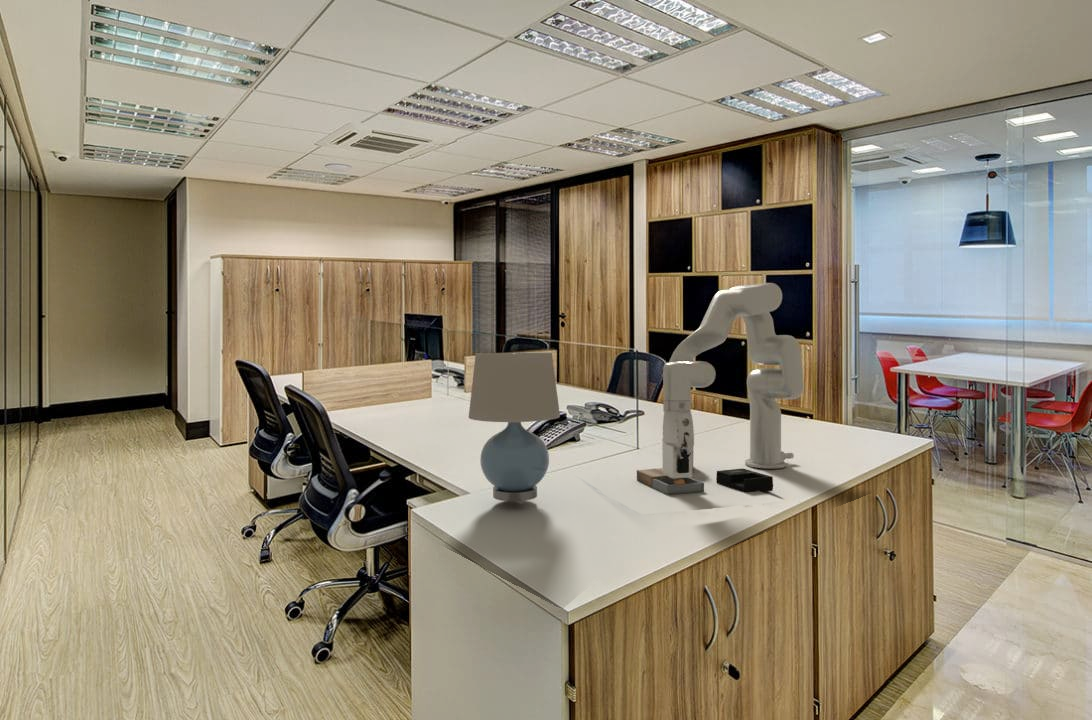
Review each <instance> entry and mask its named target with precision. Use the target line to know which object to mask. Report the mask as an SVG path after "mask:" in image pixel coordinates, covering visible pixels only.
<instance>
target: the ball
mask: <svg viewBox="0 0 1092 720" xmlns="http://www.w3.org/2000/svg"><path fill="white" fill-rule="evenodd" d="M676 484H685V481H684V480H683V479H682V478H676V479H675V480H674V485H676Z"/></svg>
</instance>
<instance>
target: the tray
mask: <svg viewBox="0 0 1092 720" xmlns="http://www.w3.org/2000/svg"><path fill="white" fill-rule="evenodd" d="M651 479H652V478H651ZM675 479H676V478H674V479H673V478H670V477H666V478H653V479H652V482H651V484H652V485H651V487H650V488H652V489H655V490H657V491H659V492H661V493H663V494H665V495H666V496H674V495H683V494H684V495H685V494H686V495H687V494H693V493H695V494H696V493H697V494H698V493H704V492H705V482H702V481H700V480H698V479H695V478H693V477H686V478H682V479H683V480H684V481H685V484H676V485H674V480H675Z"/></svg>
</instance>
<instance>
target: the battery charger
mask: <svg viewBox="0 0 1092 720" xmlns="http://www.w3.org/2000/svg"><path fill="white" fill-rule="evenodd" d="M715 479H716V484H718V485H721V486H724V487H727V488H729V489H730V488H731V489H733V490H736V491H740V492H741V493H747V494H748V493H754V492H761V493H765V492H772V491H773V489H774V477H773V476H771V475H769V474H768V475H767V474H765V473H761V472H758V471H757V472H756V471H753V470H750V469H746V468H744V467H742V468H734V469H733V468H732V469H723V470H717V471H716V478H715Z"/></svg>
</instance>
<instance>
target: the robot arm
mask: <svg viewBox="0 0 1092 720" xmlns="http://www.w3.org/2000/svg"><path fill="white" fill-rule="evenodd" d="M782 300H783V292H782V289H781V288H780V287H779V285H777V284H776V283H773V282H765V283H764V282H763V283H754V284H753V283H752V284H744V285H743V284H741V285H736V286H733V287H731V288H727V289H722V290H719V291H717V292H716V293H715V294H714V296H713V297H712V300H711V301H710V303H709V305H708V308H707V310H706V312H705V314H704V316H703V319H702V321H701V322H700V325H699V327H698V328H697V329H696V330H695V331H693V332H692V333H690V334H689V335H688V336H687V337H686V338H685V339H684V340H682V341H681V342H680V343H679V344H678V345H677V347H676V348H675V349H674V351H673V352H672V354H671V357H670V358H669V361H668V362H667V363H665V364H664V365H663V368H662V369H663V370H662V374H663V375H662V377H663V378H662V379H663V380H662V381H663V382H662V383H663V384H662V386H663V387H662V388H663V389H662V390H663V391H662V392H663V393H662V396H663V397H662V398H663V401H662V402H663V405H662V406H663V408H662V409H663V423H662V443H667V444H670V445H673V446H676V447H677V448H678V454H679V458H680V459H678V473H689V458H690V454H691V452H692V450H693V451H694V446H695V433H694V431H695V430H694V422H693V421H694V420H693V415H692V409H691V407H692V405H691V404H692V397H691V395H692V394H691V393H692V392H691V391H692V389H691V388H701V389H702V388H706V387H710V385H712V384H713V383H714V382H715V380H716V376H717V374H716V369H715V367H714V366H713V365H712V364H711V363H709V362H708V361H702V360H694V358H695V357H697V356H698V355H700V354H701V353H703V352H706V351H708V350H711V349H713V348H716V347H717V346H719V345H721V344H723V343H724V342H725V341H726V339H727V337H728V335H729V334H730V331H731V330H732V329H731V328H732V327H733V324H734V322H735V320H736V319H737V318H739V317H741V319H742V321H743V322H744V325H745V331H746V342H747V351H748V357H749V359H750V361H751V362H752V363H753V364H755V365H759V366H760V365H761V366H780V368H766V367H765V368H756V369H754V370H751V372H750V373H749V374H748V375H747V378H746V388H747V392H748V398H749V413H750V414H749V426H750V428H749V458H748V459H745V461H744V464H745V465H746V466H748V467H750V468H756V469H757V468H758V469H766V470H767V469H770V470H773V469H775V470H776V469H783V468H786V467H787V462H786V461H785V460H786V459H787V460H789V459H794V456H795V455H794V453H793V452H787V453H786V452H785V451H782V411H781V407H780V405H779V403H778V402H777V399H780V400H796V399H798V398H800V397H801V396H802V394H803V392H804V369H803V361H802V360H803V359H802V358H803V357H802V350H801V346H800V343H799V341H798V339H796V338H795V337H794V336H792V335H790V334H789V335H788V334H779V335H777V334H776V332H775V326H774V319H773V317H772V315H771V312H774V311H775V310H777V309H778V308H779V307H780V305H781V304H782V302H783V301H782ZM681 445H685V446H686V447H682V446H681ZM682 450H684V451H683V453H682Z"/></svg>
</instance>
